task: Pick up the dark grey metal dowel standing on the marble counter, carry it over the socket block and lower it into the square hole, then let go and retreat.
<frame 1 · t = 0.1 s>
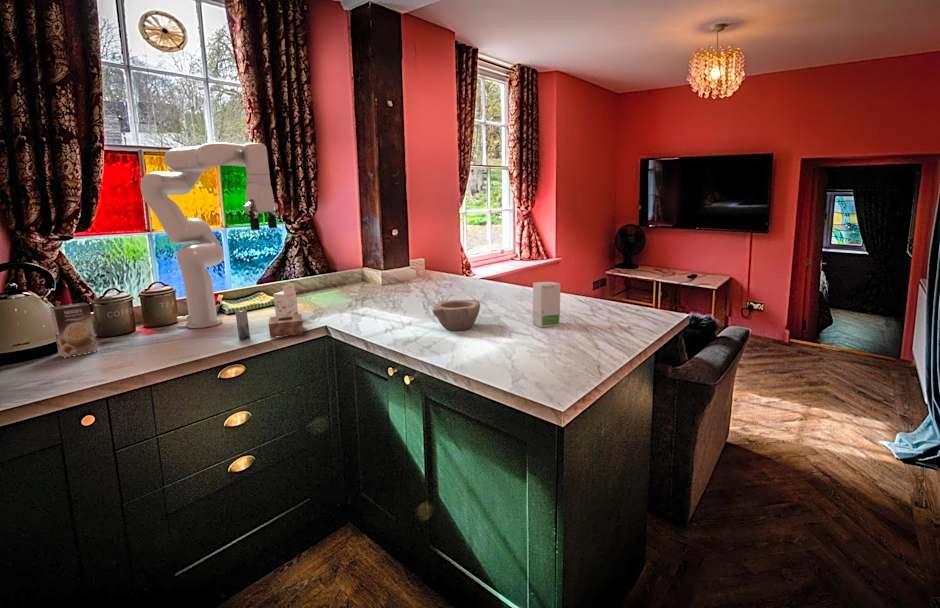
hand: (264, 228, 178), 37 cm above the worktop, tool pointing down, fingers open, 9 cm apart
coffee box: (79, 354, 161), on the worktop
peg: (244, 338, 173), on the worktop
socket block: (287, 332, 180), on the worktop
skincare box: (546, 325, 181), on the worktop
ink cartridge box: (287, 320, 198), on the worktop
mortar: (457, 328, 181), on the worktop
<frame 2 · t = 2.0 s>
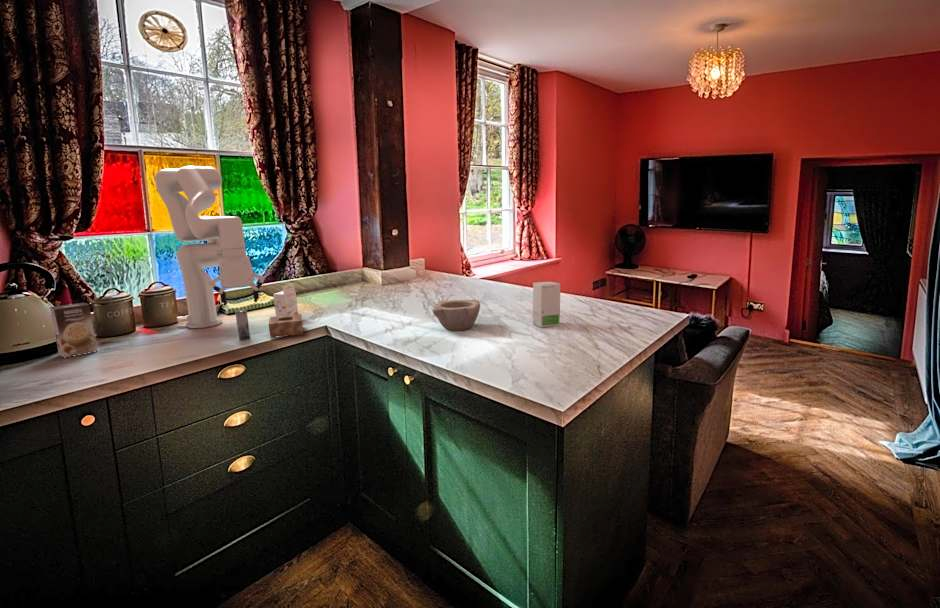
hand: (240, 303, 170), 13 cm above the worktop, tool pointing down, fingers open, 9 cm apart
nothing on the worktop moved.
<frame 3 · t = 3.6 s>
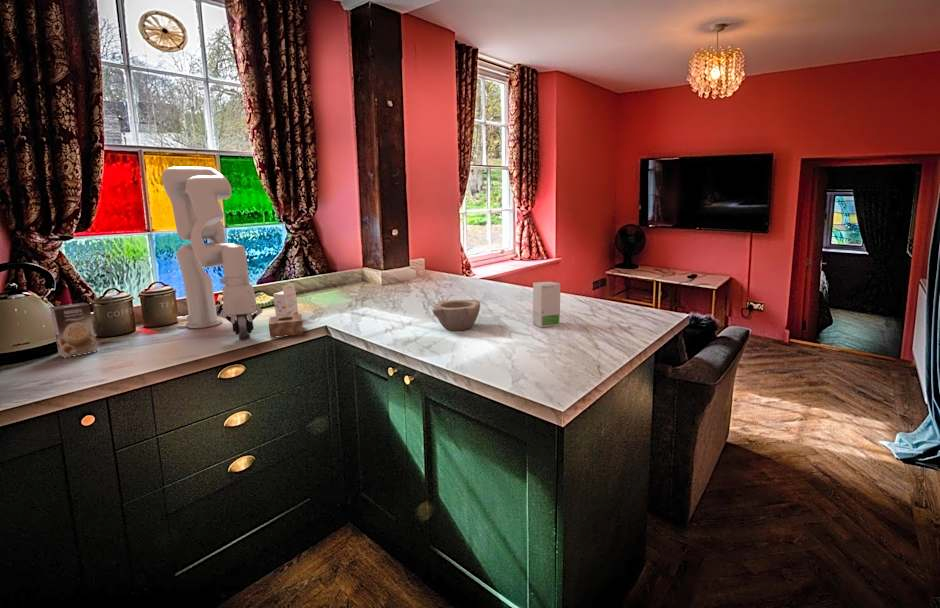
hand: (243, 332, 173), 2 cm above the worktop, tool pointing down, fingers closed on peg, 3 cm apart
peg: (244, 338, 173), on the worktop, touching gripper
everything else where it was.
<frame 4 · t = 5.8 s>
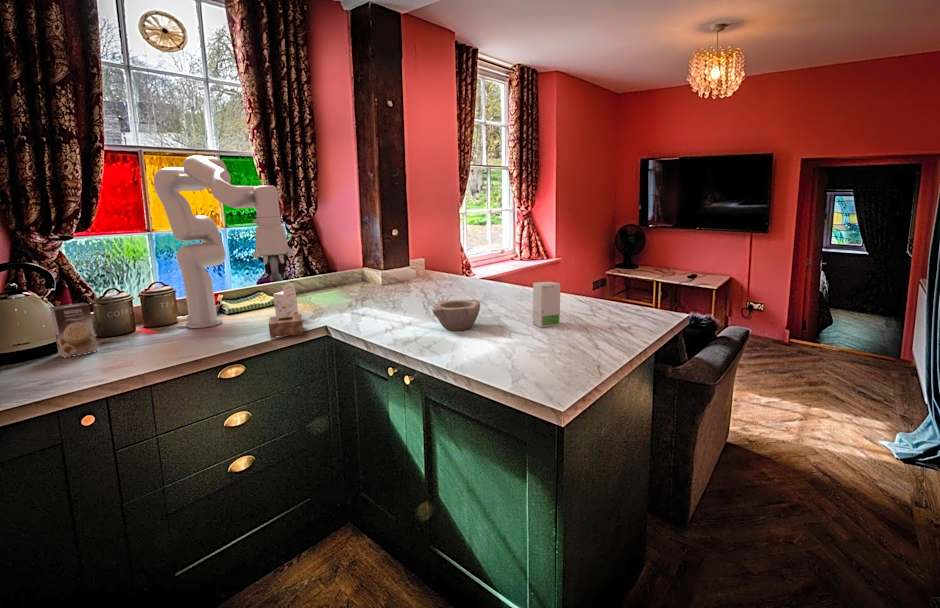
hand: (275, 274, 175), 22 cm above the worktop, tool pointing down, fingers closed on peg, 3 cm apart
peg: (276, 280, 175), point 19 cm above the worktop, touching gripper
everything else where it was.
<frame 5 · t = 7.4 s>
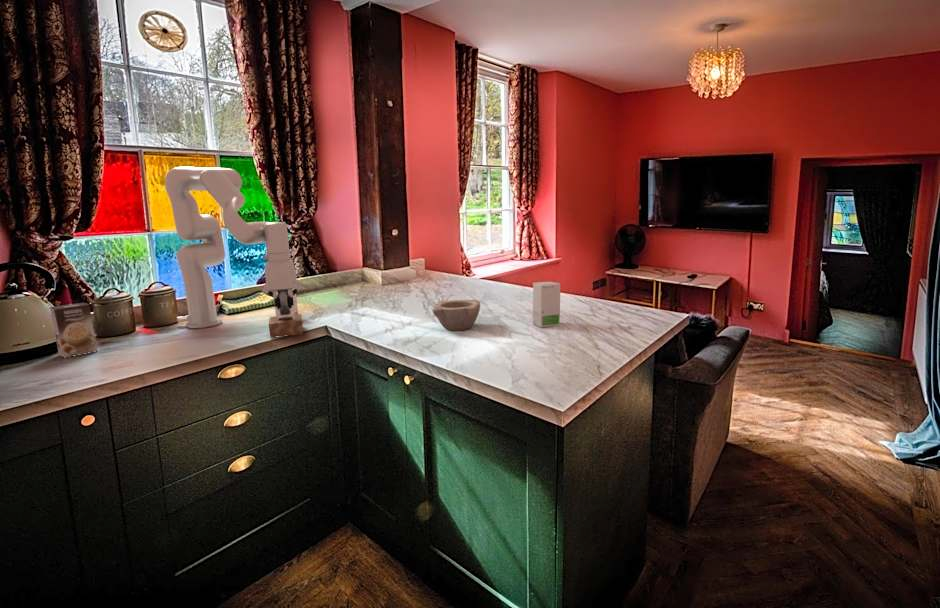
hand: (284, 307, 178), 9 cm above the worktop, tool pointing down, fingers closed on peg, 3 cm apart
peg: (285, 313, 179), point 7 cm above the worktop, touching gripper
everything else where it was.
when the fingers open (6 cm above the worktop, at t = 8.2 s): peg drops 4 cm, resting in socket block.
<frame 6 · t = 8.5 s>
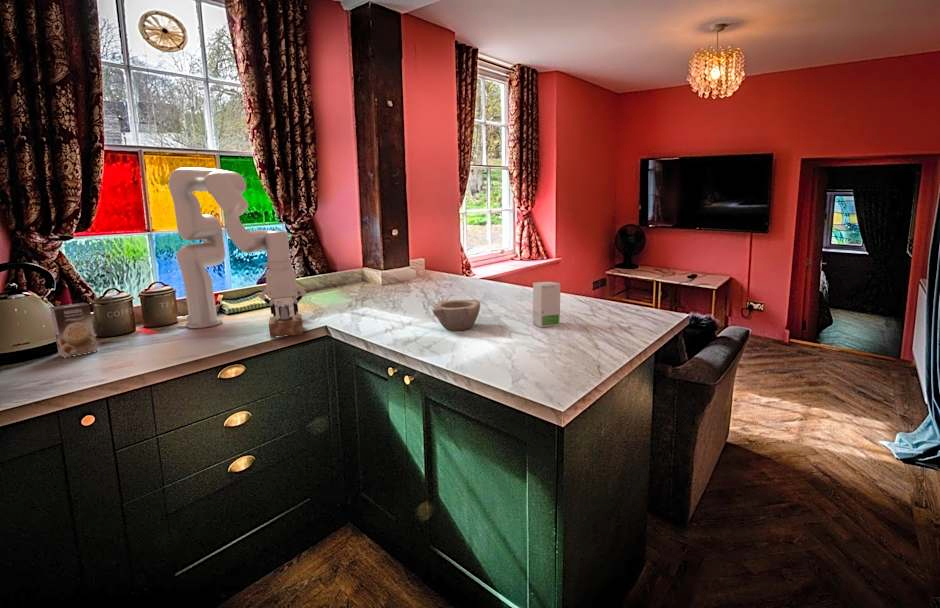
hand: (285, 314, 179), 7 cm above the worktop, tool pointing down, fingers open, 6 cm apart
peg: (286, 332, 180), resting in socket block
everything else where it was.
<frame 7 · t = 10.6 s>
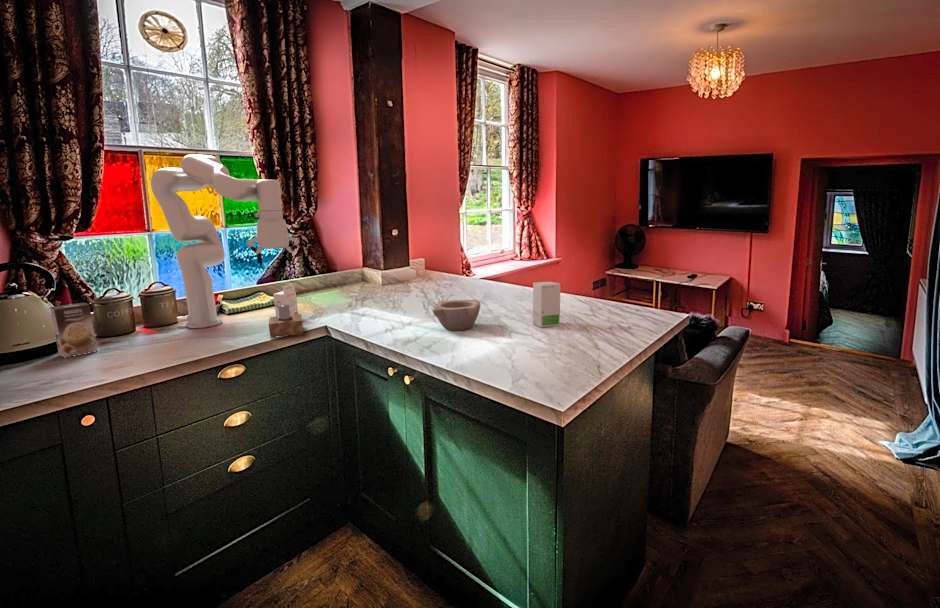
hand: (275, 264, 177), 25 cm above the worktop, tool pointing down, fingers open, 9 cm apart
nothing on the worktop moved.
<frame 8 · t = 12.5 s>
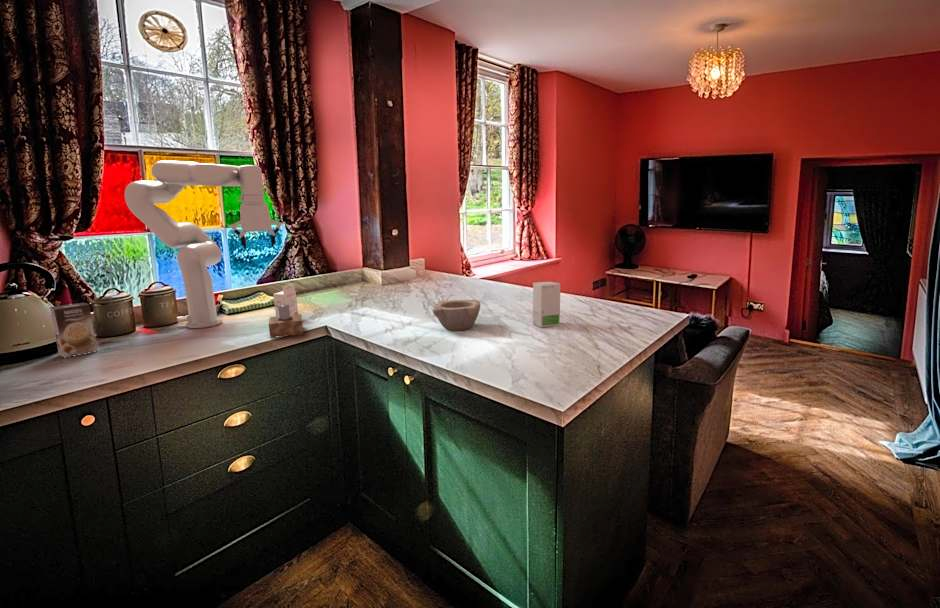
hand: (259, 246, 185), 30 cm above the worktop, tool pointing down, fingers open, 9 cm apart
nothing on the worktop moved.
at the end: peg 0.2 cm off-centre on the socket block, point 0.0 cm above the socket block's base; peg tilted 0°; the gripper is holding nothing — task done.
